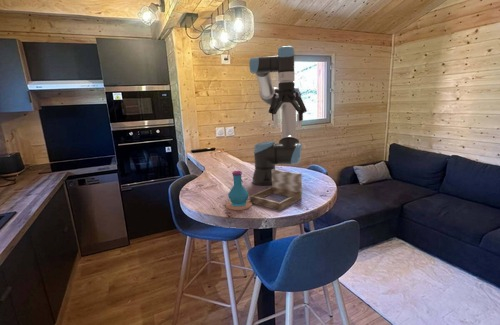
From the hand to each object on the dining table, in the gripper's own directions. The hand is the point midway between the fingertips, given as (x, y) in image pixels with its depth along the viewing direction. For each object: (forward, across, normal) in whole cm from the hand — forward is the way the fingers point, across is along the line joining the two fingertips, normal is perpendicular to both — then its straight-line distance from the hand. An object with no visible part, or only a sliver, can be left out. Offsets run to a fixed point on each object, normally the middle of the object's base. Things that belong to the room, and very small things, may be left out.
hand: (287, 127), depth 131 cm
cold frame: (+33, +2, -13) cm, 35 cm away
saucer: (+33, -8, -28) cm, 44 cm away
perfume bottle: (+32, -8, -28) cm, 43 cm away
